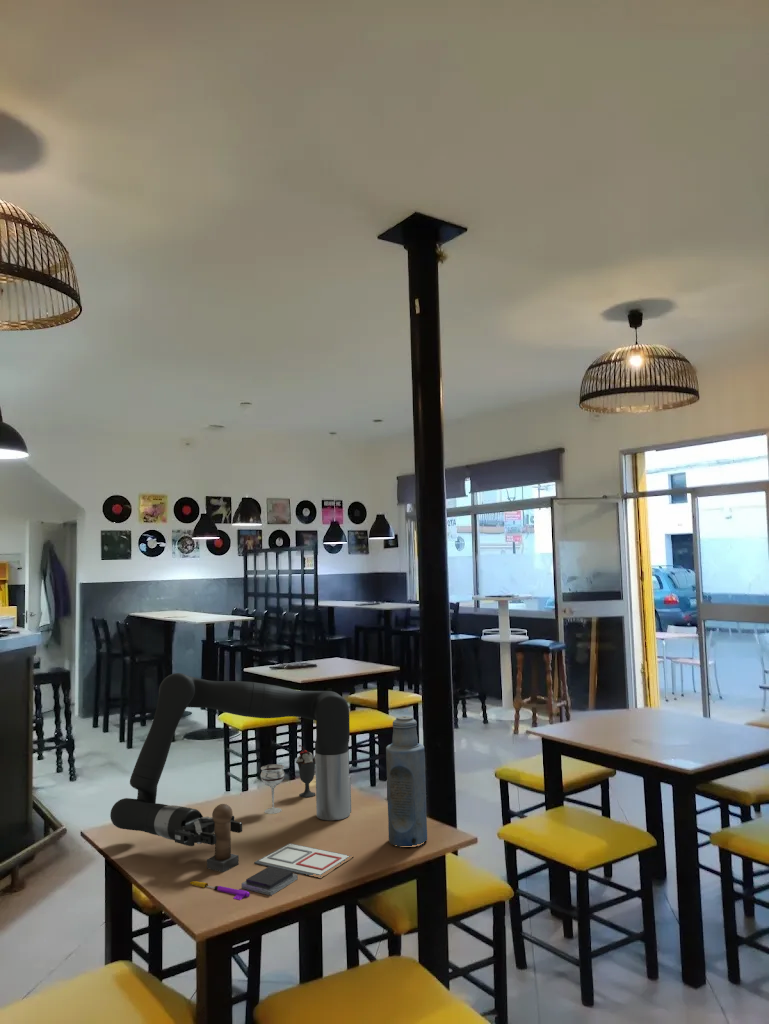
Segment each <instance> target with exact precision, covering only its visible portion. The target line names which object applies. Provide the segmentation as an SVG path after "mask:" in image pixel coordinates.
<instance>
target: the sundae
mask: <svg viewBox="0 0 769 1024" xmlns="http://www.w3.org/2000/svg"><path fill="white" fill-rule="evenodd" d="M298 747H300V749H301V750H300V752H299V756H298V757H297V760H296V761H295V764H297V766H298V773H299V779H300V781H301V782H303V784H304V785H305V786H304V787H305V788H304V791H303V792H301V793H299V797H300V798H313V797H316V792H313V791H311V790H310V783H312V781H313V780H314V779H315V778H314V777H315V771H316V765H315V755H313V753H312V752H310V751H308V750H306V749H305V748H304V747H303V746H302V744H299V745H298ZM313 756H314V757H313Z"/></svg>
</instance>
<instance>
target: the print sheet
mask: <svg viewBox="0 0 769 1024" xmlns="http://www.w3.org/2000/svg"><path fill="white" fill-rule="evenodd" d="M347 855H349V854H345V853H340V852H335V851H329V850H324V849H321V848H314V847H310V846H305V845H300V844H296V843H291V842H289V843H287V844H285V845H284V846H281V847H280V848H278V849H276V850H274V851H272V852H270V853H267V855H265V856H262V857H261V858H260V859H257V860H256V861H254V864H255V865H259V866H264V867H269V866H270V867H274V868H279V869H283V870H288V871H292V872H293V874H297V875H298V874H299V875H303V874H307V875H313V874H316V875H322V874H323V873H325V872H326V871H328V870H330V869H331V868H333V867H334V866H336V865H337V864H339V863H340V864H341V862H342V861H345V859H347V858H348V857H350V856H351V855H349V856H347ZM307 875H306V876H307ZM320 877H321V876H320Z"/></svg>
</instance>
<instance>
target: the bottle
mask: <svg viewBox="0 0 769 1024" xmlns="http://www.w3.org/2000/svg"><path fill="white" fill-rule="evenodd" d="M417 726H418V725H417V720H416V719H414V716H410V715H400V716H396V718H395V720H393V722H392V730H393V731H392V739H391V743H390V744H388V745H387V746H386V747H385V755H386V756H385V759H386V760H385V761H386V788H387V789H386V792H387V797H386V798H387V816H388V817H387V819H388V820H387V821H388V826H387V828H388V842H389V843H391V844H390V845H392V844H393V845H397V846H412V845H417V844H421V843H423V842H425V841H426V840H427V841H428V821H427V820H428V819H427V818H428V817H427V794H426V793H427V792H426V791H427V790H426V757H425V756H426V755H425V754H426V753H425V746H424V744H421V743H419V740H418V739H419V737H418V734H417V733H418V732H417ZM393 845H392V846H393Z"/></svg>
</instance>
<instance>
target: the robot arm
mask: <svg viewBox="0 0 769 1024" xmlns="http://www.w3.org/2000/svg"><path fill="white" fill-rule="evenodd" d="M187 708H201V709H210V710H211V709H212V710H216V711H218V712H219V711H220V712H223V713H227V714H230V715H236V716H241V717H247V718H254V719H255V718H256V719H278V718H285V717H286V718H287V717H294V718H301V719H306V720H312V721H316V723H315V724H316V725H315V726H316V728H315V729H316V735H315V736H316V738H315V742H314V756H315V797H316V798H315V802H316V818H318V819H320V820H323V821H340V820H343V819H346V818H348V817H350V816H351V813H352V789H351V788H352V787H351V786H352V785H351V777H350V767H349V766H350V762H349V743H350V733H351V732H350V729H351V728H350V708H349V704H348V702H347V700H346V699H345V698H344V696H342V695H340V694H339V693H337V692H335V691H331V690H299V689H292V688H289V687H285V686H280V685H274V684H269V683H268V684H267V683H262V682H254V681H242V680H241V681H238V680H237V681H236V680H235V681H233V680H230V681H229V680H227V681H226V680H224V681H219V680H218V681H217V680H207V679H204V678H199V677H194V676H191V675H187V674H185V673H181V672H176V673H172V674H169V675H168V676H167V675H166V677H164V678H163V680H162V681H161V683H160V684H159V688H158V698H157V704H156V708H155V713H154V717H153V720H152V723H151V726H150V728H149V731H148V734H147V735H146V737H145V740H144V743H143V745H142V747H141V749H140V752H139V754H138V757H137V760H136V762H135V765H134V768H133V771H132V773H131V776H130V778H129V779H130V780H129V784H130V786H131V787H132V788H133V789H135V790H137V798H129V797H125V798H122V799H118V801H116V802H115V803H114V805H112V808H111V810H110V814H109V815H110V816H109V817H110V820H111V823H112V824H113V825H114V827H116V828H118V829H122V830H128V831H136V832H142V833H143V832H144V833H148V834H151V835H153V836H157V837H162V838H163V839H167V840H172V841H174V843H177V844H180V845H184V846H188V847H193V846H195V844H197V845H201V844H205V845H209V846H215V844H216V835H215V822H214V821H213V818H212V816H210V817H209V816H203V814H202V813H201V812H200V810H199V809H196V808H193V807H192V808H191V807H185V806H181V805H172V804H171V805H169V804H164V803H157V795H158V794H157V791H158V784H159V782H160V780H161V776H162V773H163V770H164V768H165V766H166V765H165V764H166V761H167V759H168V756H169V751H170V748H171V745H172V742H173V739H174V735H175V733H176V730H177V727H178V725H179V724H180V721H181V719H182V717H183V716H184V715H183V714H184V712H186V709H187ZM230 824H231V832H232V833H238V834H240V833H242V832H243V823H242V822H241V821H236V820H235V815H232V819H231V820H230Z"/></svg>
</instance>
